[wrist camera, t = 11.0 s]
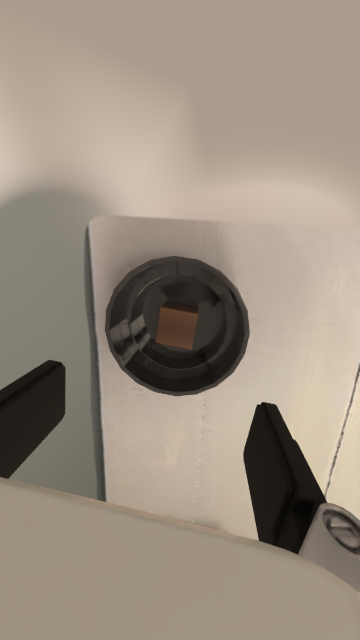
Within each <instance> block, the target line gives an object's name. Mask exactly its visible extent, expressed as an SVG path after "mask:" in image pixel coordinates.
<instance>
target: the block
mask: <svg viewBox="0 0 360 640" xmlns="http://www.w3.org/2000/svg"><path fill="white" fill-rule="evenodd" d="M198 315H199V306H194V305H188V304H182V303H177V302H171V301H166V302H165V303H164V304H163V305H162V306H161V307H160V314H159V321H158V328H157V335H156V343H160V344H165V345H170V346H175V347H181V348H186V349H192V347H193V342H194V336H195V331H196V326H197V320H198Z"/></svg>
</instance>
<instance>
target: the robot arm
mask: <svg viewBox="0 0 360 640" xmlns="http://www.w3.org/2000/svg"><path fill="white" fill-rule="evenodd" d="M64 415H65V366H63V364H62V363H61V362H57V361H52V360H48V361H46V362H45V363H43V364H41V365H40V366H38V367H37V368H35V369H33V370H32V371H30V372H29V373H27V374H25V375H24V376H22V377H21V378H19V379H17V380H16V381H14V382H13V383H11V384H9V385H8V386H6V387H5V388H3V389H1V390H0V640H360V521H359V520H358V519H357V518H356V517H355V516H354V515H352V514H351V513H350V512H348V511H347V510H345V509H344V508H342V507H340V506H338V505H335V504H331V503H327V501H326V499H325V497H324V495H323V493H322V491H321V489H320V487H319V485H318V483H317V481H316V479H315V477H314V475H313V473H312V471H311V469H310V467H309V465H308V463H307V461H306V459H305V457H304V455H303V453H302V451H301V449H300V447H299V445H298V443H297V442H296V441H295V440H294V439H293V438H292V436H291V434H290V432H289V430H288V428H287V426H286V424H285V422H284V420H283V418H282V416H281V414H280V412H279V410H278V407H277V406H276V405H275V404H271V403H266V402H262V403H261V405H259V404H258V405H257V407H256V410H255V413H254V417H253V420H252V424H251V427H250V431H249V434H248V438H247V441H246V445H245V448H244V454H243V457H244V464H245V469H246V474H247V480H248V485H249V490H250V495H251V501H252V506H253V511H254V517H255V522H256V527H257V532H258V538H259V541H257V540H254V539H250V538H246V537H242V536H239V535H235V534H231V533H228V532H224V531H220V530H216V529H213V528H209V527H205V526H201V525H197V524H193V523H189V522H185V521H180V520H176V519H172V518H168V517H164V516H160V515H156V514H152V513H148V512H144V511H140V510H136V509H132V508H128V507H124V506H120V505H115V504H111V503H107V502H103V501H99V500H95V499H91V498H86V497H82V496H78V495H74V494H70V493H66V492H62V491H57V490H53V489H49V488H44V487H40V486H36V485H32V484H27V483H23V482H19V481H14V480H10V479H8V478H9V477H10V476H11V475H12V474H13V473H14V472H15V470H17V468H18V467H19V466H20V465H21V464H22V463H23V462H24V461H25V460H26V459H27V457H28V456H29V455H30V454H31V453H32V452H33V451H34V450H35V449H36V448H37V447H38V445H39V444H40V443H41V442H42V441H43V440H44V439H45V438H46V437H47V436H48V434H49V433H50V432H51V431H52V430H53V429H54V428H55V427H56V426H57V425H58V423H59V422H60V421H61V420H62V419H63V417H64Z"/></svg>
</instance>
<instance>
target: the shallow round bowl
mask: <svg viewBox="0 0 360 640" xmlns="http://www.w3.org/2000/svg"><path fill="white" fill-rule="evenodd" d="M166 301H171V302H177V303H182V304H188V305H194V306H199V315H198V320H197V326H196V331H195V336H194V342H193V347H192V349H186V348H181V347H175V346H170V345H165V344H160V343H156V335H157V328H158V321H159V314H160V307H161V306H162V305H163V304H164V303H165V302H166ZM105 332H106V336H107V340H108V344H109V348H110V351H111V353H112V354H113V356H114V358H115V359H116V361H117V363H118V364H119V366H120V368H121V369H122V370H123V371H124V372H125V373H126V374H128V375H129V376H130V377H131V378H132V379H133V380H134V381H135V382H136V383H138V384H140V385H142V386H144V387H146V388H148V389H150V390H152V391H154V392H157V393H162V394H168V395H173V396H183V395H194V394H199V393H201V392H204V391H206V390H209V389H211V388H214V387H216V386H217V385H219V384H220V383H221V382H222V381H224V380H225V379H226V378H227V377H229V376H230V375H231V374H232V373H233V372H234V370H235V369H236V367H237V366H238V364H239V363H240V361H241V359H242V358H243V356H244V355H245V351H246V347H247V343H248V338H249V334H250V331H249V321H248V311H247V308H246V306H245V304H244V302H243V300H242V298H241V295H240V293H239V291H238V289H237V288H236V287H235V286H234V285H233V284H232V283H231V282H230V281H229V280H228V278H227V277H226V276H225V275H224V274H223V273H222V272H221V271H219V270H217V269H215V268H213V267H211V266H210V265H208V264H206V263H204V262H202V261H200V260H197V259H190V258H184V257H177V256H171V257H165V258H160V259H154V260H150V261H148V262H146V263H144V264H142V265H141V266H139V267H137V268H135V269H134V270H132V271H130V272H129V273H128V274H127V275H126V276H125V278H124V279H123V280H122V281H121V282H120V283H119V284H118V285H117V287H116V288H115V289H114V292H113V294H112V296H111V299H110V301H109V304H108V306H107V309H106V323H105Z"/></svg>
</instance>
